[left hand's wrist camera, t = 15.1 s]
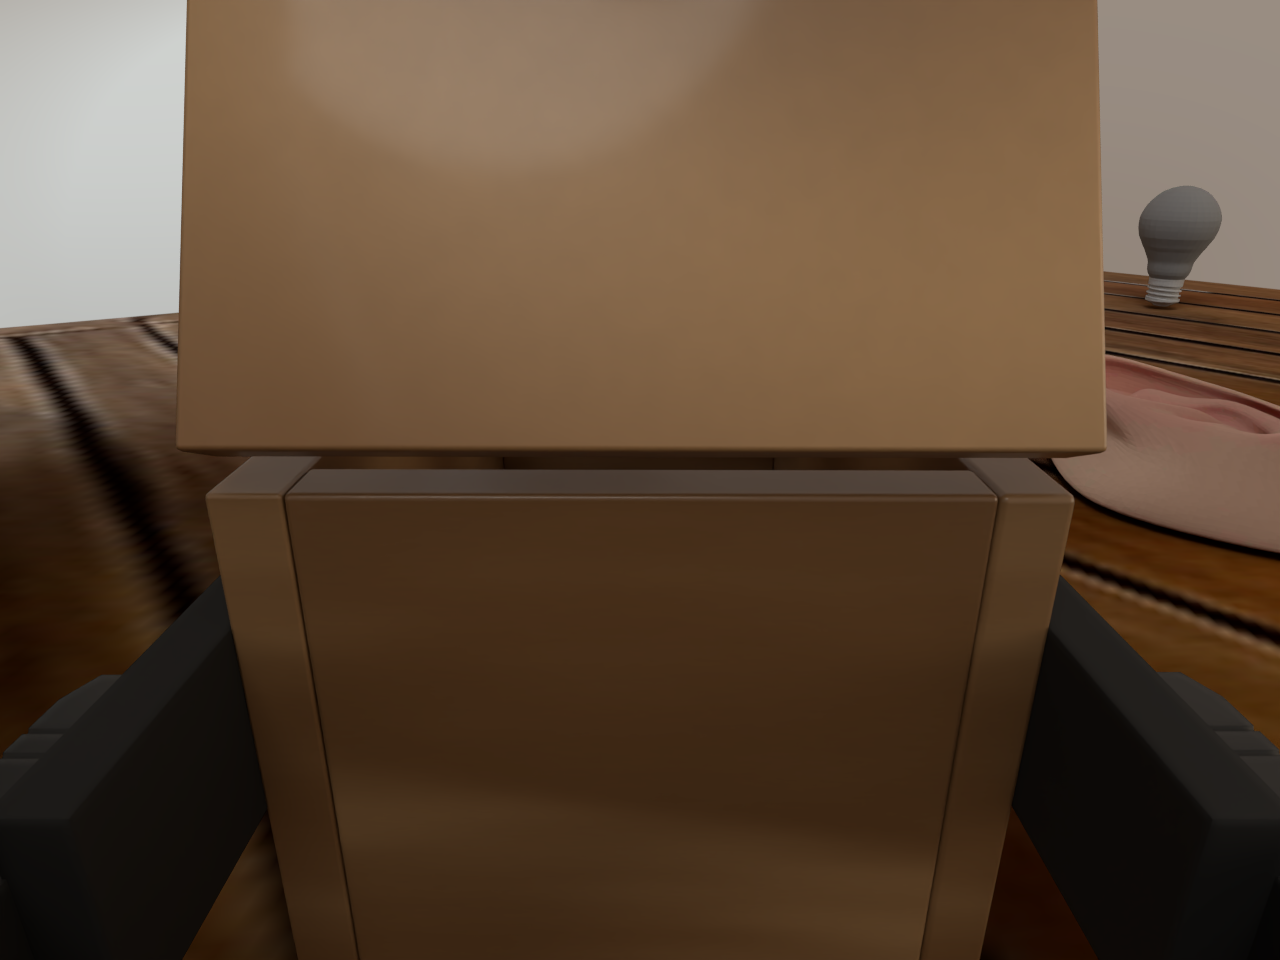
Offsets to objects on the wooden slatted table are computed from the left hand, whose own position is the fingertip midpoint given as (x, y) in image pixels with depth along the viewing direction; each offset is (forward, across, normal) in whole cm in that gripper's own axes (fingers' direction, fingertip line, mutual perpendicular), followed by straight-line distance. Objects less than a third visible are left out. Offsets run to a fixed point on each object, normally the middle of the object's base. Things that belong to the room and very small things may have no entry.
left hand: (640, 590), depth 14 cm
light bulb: (+64, +46, -6) cm, 79 cm away
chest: (+5, 0, -6) cm, 8 cm away
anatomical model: (+21, +23, -6) cm, 32 cm away
